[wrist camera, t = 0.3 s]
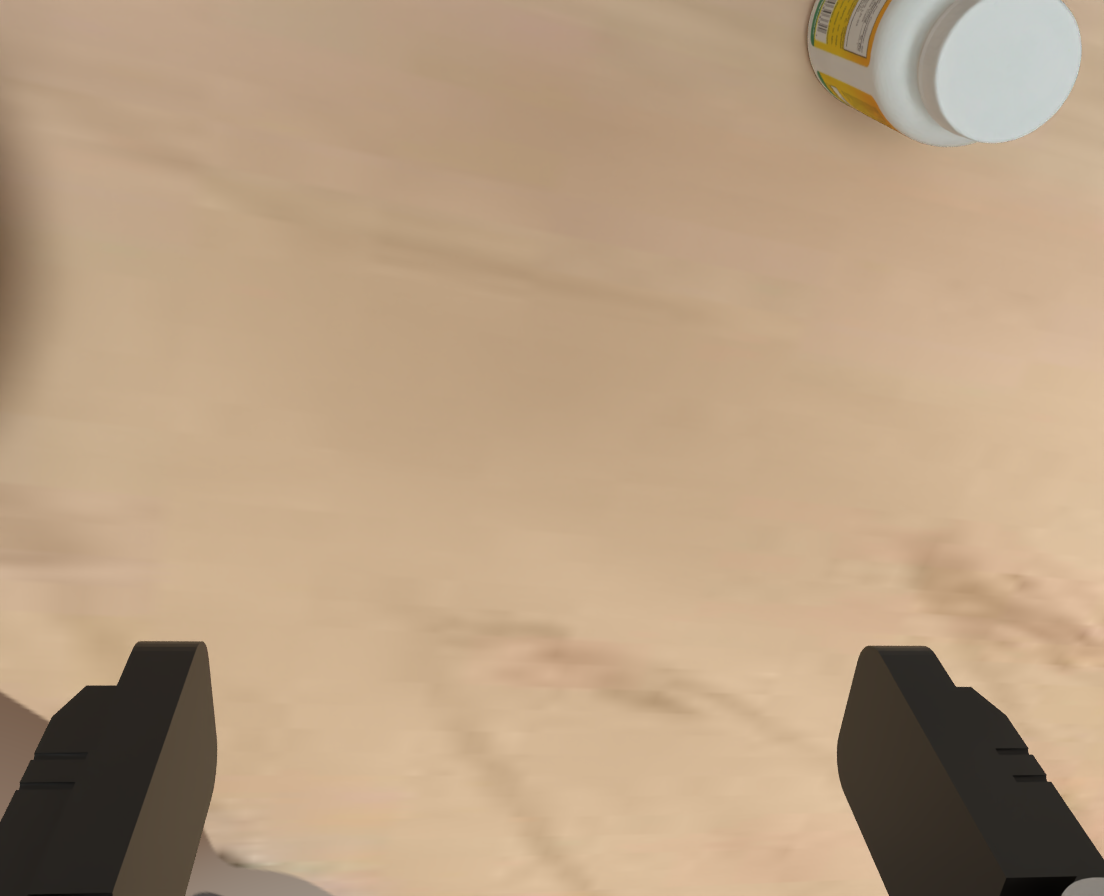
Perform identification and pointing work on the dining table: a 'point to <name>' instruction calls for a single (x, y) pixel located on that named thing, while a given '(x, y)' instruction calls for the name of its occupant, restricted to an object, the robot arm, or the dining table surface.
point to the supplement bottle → (948, 64)
